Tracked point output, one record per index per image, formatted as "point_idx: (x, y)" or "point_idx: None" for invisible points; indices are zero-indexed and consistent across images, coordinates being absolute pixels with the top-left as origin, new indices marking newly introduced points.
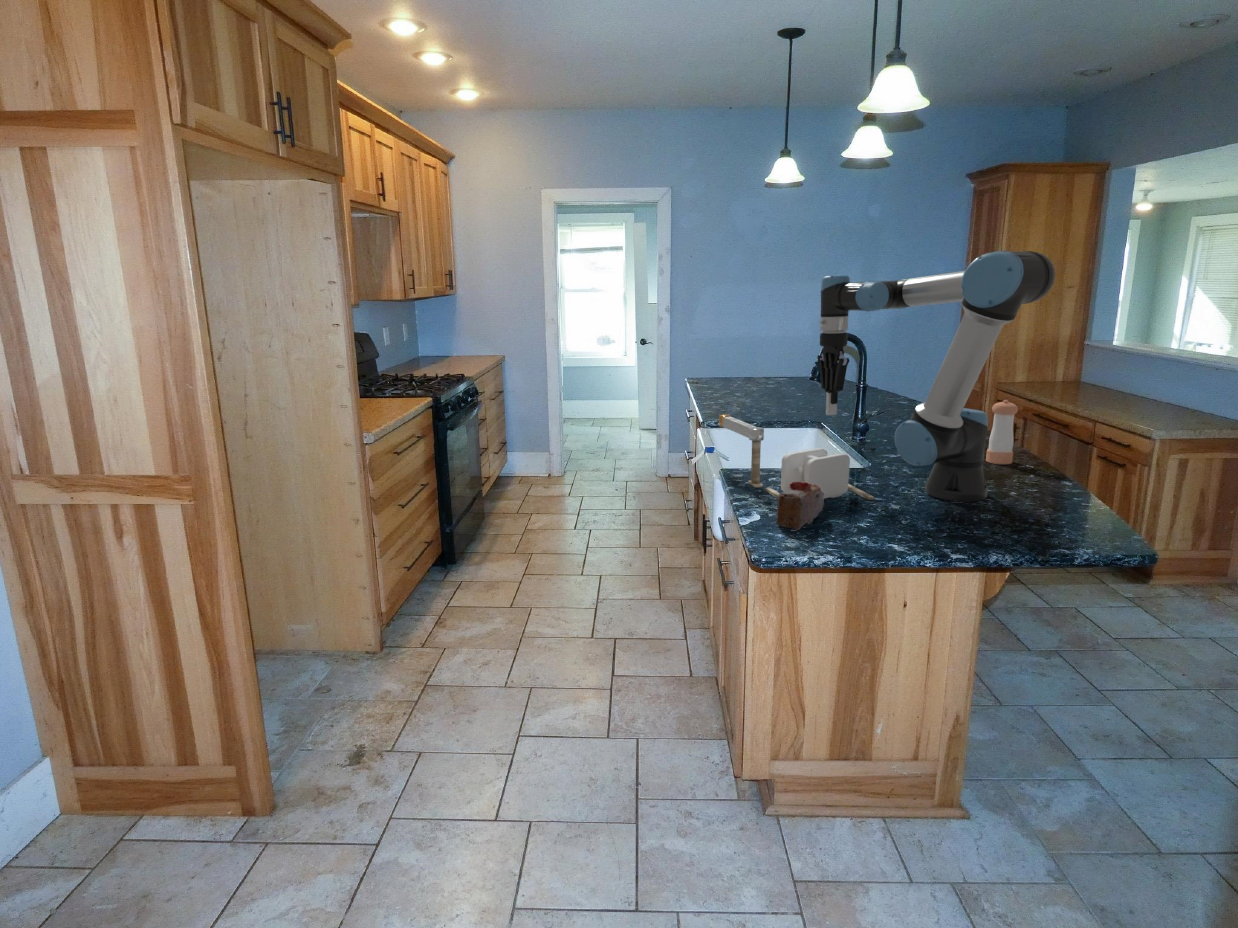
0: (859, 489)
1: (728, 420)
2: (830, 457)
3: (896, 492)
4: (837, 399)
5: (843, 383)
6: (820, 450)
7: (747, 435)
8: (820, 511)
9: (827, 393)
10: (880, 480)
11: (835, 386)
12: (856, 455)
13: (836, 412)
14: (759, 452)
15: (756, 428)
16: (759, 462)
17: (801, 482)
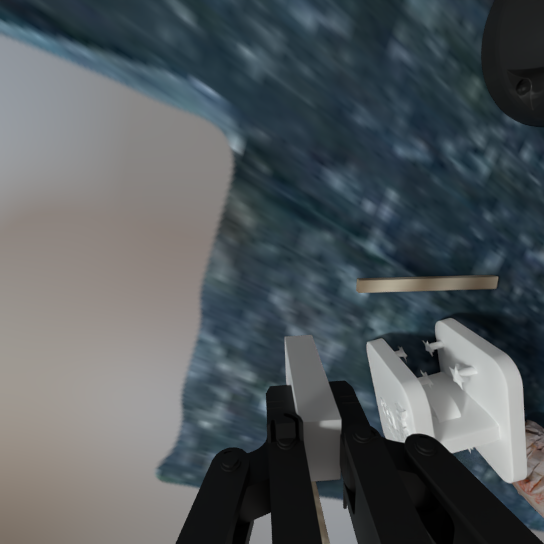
0: (440, 278)
1: None
2: (524, 429)
3: (475, 191)
4: (357, 398)
5: (490, 497)
6: (431, 414)
7: None
8: (527, 420)
9: (316, 474)
10: (373, 167)
11: (447, 529)
12: (83, 64)
13: (313, 342)
14: (325, 526)
15: None
16: (318, 498)
17: (540, 492)
